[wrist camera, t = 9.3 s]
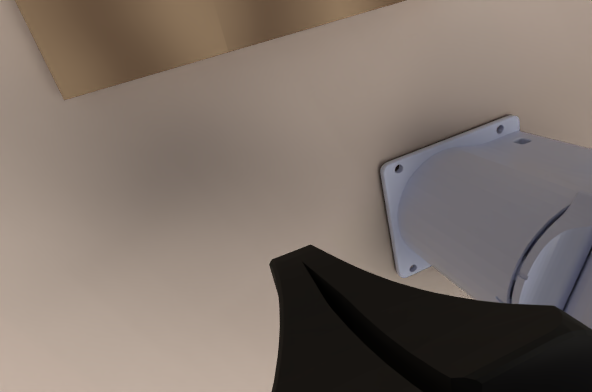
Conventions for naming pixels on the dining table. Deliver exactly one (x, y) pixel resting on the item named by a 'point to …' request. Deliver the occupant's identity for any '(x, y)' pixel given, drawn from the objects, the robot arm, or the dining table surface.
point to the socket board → (162, 33)
